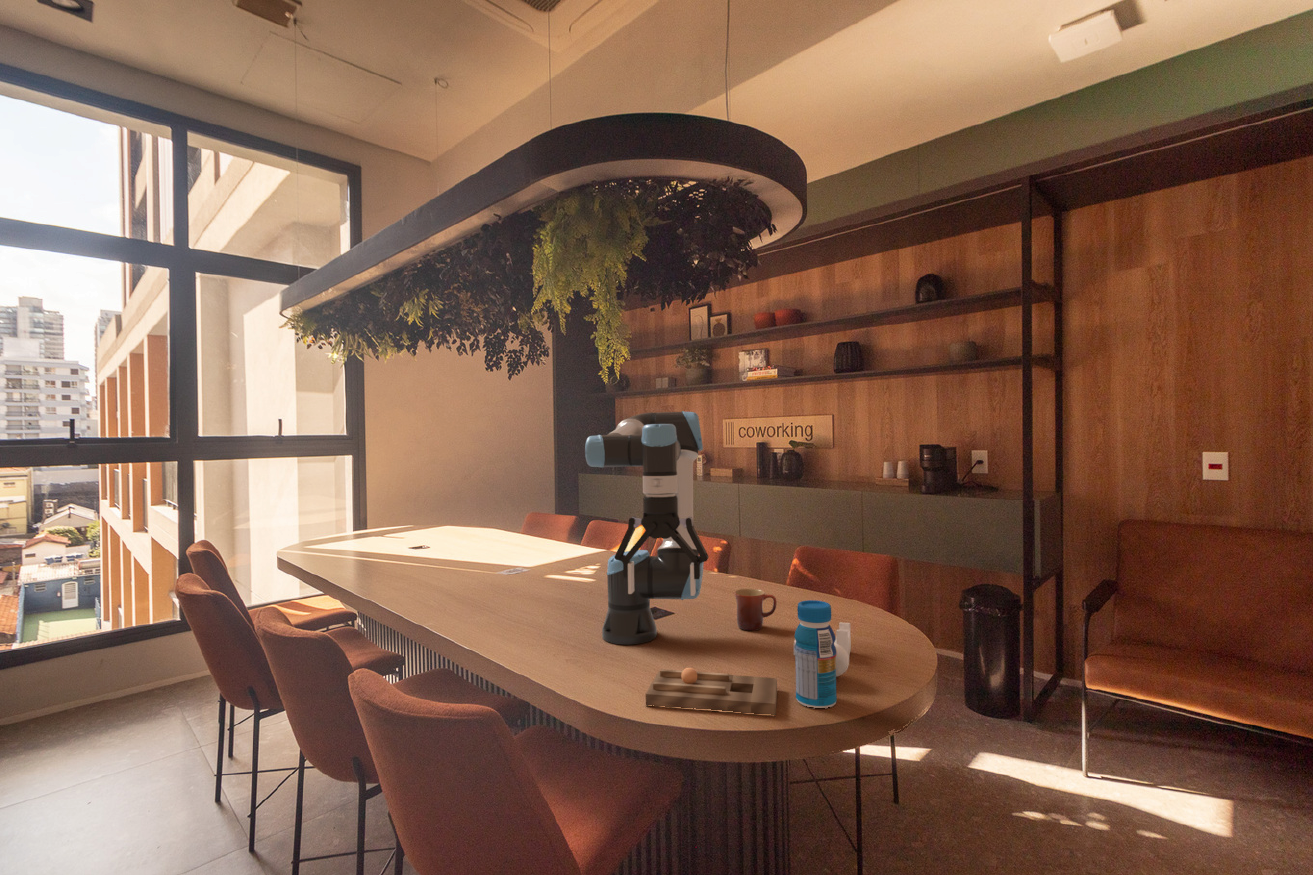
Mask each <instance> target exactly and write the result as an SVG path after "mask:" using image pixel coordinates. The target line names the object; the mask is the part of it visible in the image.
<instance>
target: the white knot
mask: <svg viewBox="0 0 1313 875" xmlns="http://www.w3.org/2000/svg"><path fill="white" fill-rule="evenodd" d="M834 645H835V647H836V652H837V654H836V678H837V677H839V676H842V675H843V674H845V673H846V671H847V670H848V668H849V664H850V656H849V657H848V654H847V652H846V650H845V649H844V648H843V647H841V646H840V645H838V644H835V643H834Z"/></svg>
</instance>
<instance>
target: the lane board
mask: <svg viewBox="0 0 1313 875" xmlns="http://www.w3.org/2000/svg"><path fill="white" fill-rule="evenodd" d="M682 672H683V670H678V669H677V670H676V669H663V668H662V669H659V670H658V671H657V674H655V676H654V679H653V680H652V682H651V684H650V686H649V688H648V689H647V691H646V693H645V706H646V705H652V706H653V705H654V706H665V707H681V708H693V709H694V708H696V709H711V710H722V711H733V712H741V713H754V714H771V715H775V713H776V710H777V699H776V698H777V697H778V694H777V693H778V679H777V677H768V676H767V677H766V676H750V675H736V674H730V673H722V672H721V673H720V672H709V671H696V672H697V680H696V682H695V683H694V684H685V683H684V682H683V680H682V678H681V674H682ZM776 714H777V713H776ZM775 716H776V715H775Z"/></svg>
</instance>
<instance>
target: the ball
mask: <svg viewBox="0 0 1313 875" xmlns="http://www.w3.org/2000/svg"><path fill="white" fill-rule="evenodd" d="M682 671H683V672H682V674H681V678H682V680H683V682H684V683H685V684H694V683H695V682H696V680H697V672H698V671H697V670H696V669H694V668H693V667H686V668H683V669H682Z"/></svg>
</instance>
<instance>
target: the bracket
mask: <svg viewBox="0 0 1313 875" xmlns="http://www.w3.org/2000/svg"><path fill="white" fill-rule="evenodd" d="M838 624H839V626H838V629H837V628H836V630H835V632H836V634H835V638H836V640H835V642H834V643H835V644H838V645H840V646H841V647H843V648H844V649H845V650H846V652H847V654H848V657H849V658H850V653H851V649H852V646H851V645H852V643H851V636H852V634H851V622H841V621H840V622H839V623H838ZM795 643H796V640H795V639H794V641H793V647H794V646H795ZM793 656H795V653H794V652H793Z"/></svg>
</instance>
